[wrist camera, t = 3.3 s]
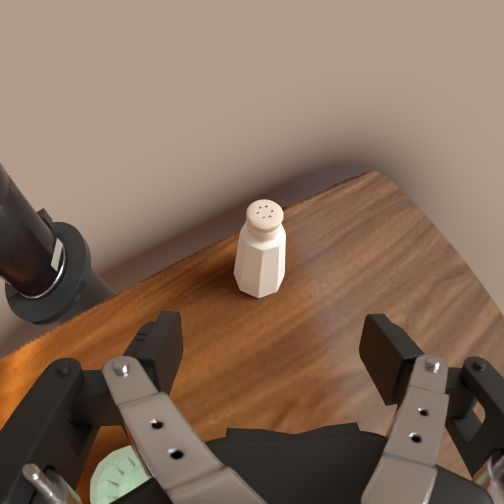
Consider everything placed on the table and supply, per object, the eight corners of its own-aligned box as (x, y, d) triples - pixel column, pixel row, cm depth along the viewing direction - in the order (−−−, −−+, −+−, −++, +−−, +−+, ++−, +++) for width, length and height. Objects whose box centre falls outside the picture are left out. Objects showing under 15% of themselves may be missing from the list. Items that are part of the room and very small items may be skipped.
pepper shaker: (223, 273, 32) (214, 210, 22) (259, 244, 33) (265, 175, 24) (257, 309, 30) (264, 256, 20) (294, 276, 32) (315, 214, 22)
